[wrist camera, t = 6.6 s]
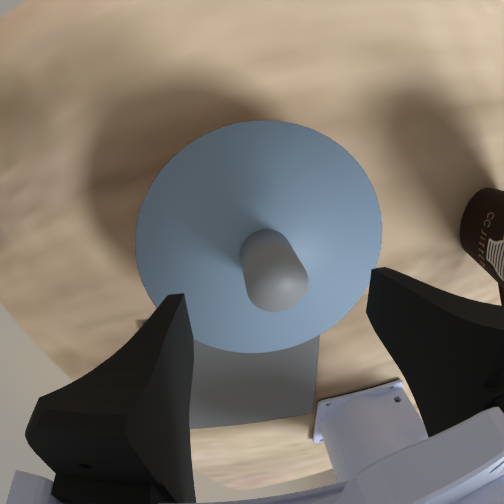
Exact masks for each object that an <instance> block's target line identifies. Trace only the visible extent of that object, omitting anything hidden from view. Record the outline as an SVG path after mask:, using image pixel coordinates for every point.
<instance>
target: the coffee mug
mask: <svg viewBox="0 0 504 504" xmlns="http://www.w3.org/2000/svg"><path fill="white" fill-rule="evenodd" d="M460 239H461V244H462V246H463V248H464V250H465V251H466V252H467V253H468V254H469V255H470V256H471V257H472V258H473V259H474V260H475V261H476V262H477V263H479V264H480V265H481V266H482V267H483V268H484V269H485V270H486V271H487V272H488V273H489V274H490V275H491V276H492V277H493V278H494V279H495V280H496V281H497V282H498V285H499V292H500V298H501V304H502V306H504V191H501V190H497V189H492V188H484V189H482V190H480V191H479V192H477V193H476V194H475V195H474V196H473V197H472V199H471V200H470V201H469V203H468V205H467V207H466V209H465V211H464V214H463V217H462V221H461V227H460Z"/></svg>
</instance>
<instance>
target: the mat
mask: <svg viewBox="0 0 504 504" xmlns="http://www.w3.org/2000/svg"><path fill="white" fill-rule="evenodd" d="M144 324H145V323H143V325H144ZM318 349H319V335H318V336H316V337H314V338H312V339H311V340H308V341H306V342H304V343H301V344H299V345H296V346H293V347H290V348H286V349H282V350H277V351H272V352H263V353H240V352H232V351H226V350H222V349H218V348H214V347H211V346H209V345H206V344H203V343H201V342H199V341H197V340H195V339H194V366H193V377H192V387H191V397H190V409H189V426H190V429H195V428H209V427H221V426H231V425H240V424H248V423H256V422H263V421H270V420H276V419H282V418H288V417H294V416H299V415H304V414H309V413H313V404H314V394H315V384H316V373H317V362H318Z"/></svg>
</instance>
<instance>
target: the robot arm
mask: <svg viewBox="0 0 504 504" xmlns="http://www.w3.org/2000/svg"><path fill="white" fill-rule="evenodd" d="M366 313H367V315H368V318H369V320H370V322H371V324H372V326H373V328H374V330H375V332H376V334H377V335H378V337H379V338H380V340H381V341H382V343H383V344H384V346H385V348H386V349H387V351H388V352H389V354H390V355H391V357H392V358H393V360H394V361H395V363H396V364H397V366H398V367H399V369H400V370H401V372H402V374H403V376H404V377H405V379H406V381H407V383H408V386H409V388H410V390H411V392H412V394H413V396H414V399H415V401H416V404H417V406H418V409H419V411H420V414H421V417H422V420H423V421H422V420H421V418H420V416H419V415H418V413H417V411H416V410H415V408H414V406H413V405H412V403H411V401H410V400H409V398H408V397H407V395H406V393H405V392H404V390H403V388H402V386H403V381H402V380H397V381H394V382H391V383H387V384H384V385H381V386H377V387H374V388H370V389H366V390H362V391H359V392H355V393H351V394H347V395H342V396H338V397H334V398H329V399H325V400H321V401H319V402H318V404H317V412H316V419H315V427H314V434H313V442H314V443H320V442H324V443H325V446H326V449H327V452H328V455H329V458H330V461H331V464H332V467H333V470H334V473H335V476H336V479H337V482H338V483H336V484H332V485H328V486H324V487H319V488H315V489H310V490H306V491H301V492H296V493H290V494H285V495H279V496H273V497H265V498H258V499H250V500H240V501H229V502H214V503H196V497H195V490H194V481H193V472H192V460H191V446H190V426H189V409H190V397H191V387H192V377H193V366H194V337H193V333H192V328H191V324H190V319H189V314H188V310H187V305H186V300H185V295H184V293H180V294H170V295H167V296H166V298H165V299H164V300H163V301H162V303H161V304H160V305H159V306H158V308H157V309H156V310H155V312H154V313H153V314H152V315H151V317H150V318H149V319H148V320H147V321H146V323H145V324H144V325H143V326H142V327H141V328H140V329H139V330H138V331H137V333H136V334H135V335H134V336H133V337H132V338H131V339H130V340H129V341H128V342H127V343H126V344H125V345H124V346H123V347H122V348H121V349H119V350H118V351H117V352H116V353H115V354H114V355H112V356H111V357H110V358H109V359H107V360H106V361H105V362H103V363H102V364H100V365H99V366H98V367H96V368H95V369H94V370H92V371H91V372H89V373H87V374H86V375H84V376H83V377H81V378H79V379H78V380H76V381H74V382H72V383H70V384H68V385H67V386H65V387H63V388H60V389H58V390H56V391H54V392H52V393H49V394H47V395H45V396H42V397H40V398H39V399H38V401H37V404H36V406H35V409H34V411H33V413H32V416H31V418H30V421H29V423H28V426H27V428H26V432H25V437H26V439H27V441H28V444H29V445H30V447H31V448H32V449H33V450H34V452H35V453H36V454H37V455H38V456H39V457H40V458H41V459H42V460H43V461H44V462H45V463H46V464H47V465H48V466H49V467H50V468H51V469H52V470H53V471H54V472H55V473H56V475H55V479H54V482H53V481H51V480H49V479H47V478H44V477H42V476H38V475H34V474H30V473H26V472H23V471H19V470H17V471H16V472H15V475H14V478H13V481H12V484H11V487H10V491H9V494H8V498H7V502H6V504H504V306H499V305H493V304H488V303H483V302H478V301H474V300H470V299H467V298H464V297H460V296H457V295H454V294H451V293H448V292H446V291H443V290H440V289H438V288H435V287H433V286H430V285H428V284H426V283H423V282H421V281H419V280H417V279H414V278H412V277H410V276H407V275H405V274H403V273H400V272H398V271H395V270H392V269H389V268H386V267H382V268H376V269H371V278H370V286H369V294H368V302H367V309H366Z"/></svg>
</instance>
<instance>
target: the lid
mask: <svg viewBox="0 0 504 504" xmlns="http://www.w3.org/2000/svg"><path fill="white" fill-rule="evenodd" d="M381 243H382V220H381V211H380V207H379V203H378V199H377V196H376V193H375V191H374V188H373V186H372V184H371V182H370V180H369V178H368V177H367V175H366V173H365V171H364V170H363V169H362V167H361V166H360V165H359V163H358V162H357V161H356V160H355V158H354V157H353V156H352V155H350V154H349V153H348V152H347V151H346V150H345V149H344V148H343V147H342V146H340V145H339V144H338V143H336V142H335V141H333V140H332V139H330V138H329V137H327V136H325V135H323V134H321V133H319V132H317V131H315V130H313V129H310V128H307V127H304V126H301V125H298V124H294V123H288V122H282V121H264V120H256V121H248V122H240V123H236V124H232V125H228V126H225V127H221V128H219V129H216V130H214V131H212V132H209V133H207V134H205V135H203V136H201V137H200V138H198V139H196V140H195V141H193V142H191V143H190V144H188V145H187V146H186V147H185V148H183V149H182V150H181V151H180V152H179V153H177V154H176V155H175V156H174V157H173V158H172V159H171V160H170V161H169V162H168V163H167V164H166V166H165V167H164V168H163V169H162V170H161V171H160V172H159V174H158V175H157V177H156V178H155V180H154V181H153V183H152V185H151V186H150V188H149V190H148V192H147V194H146V196H145V199H144V201H143V203H142V206H141V209H140V213H139V216H138V220H137V226H136V234H135V254H136V260H137V266H138V270H139V274H140V277H141V280H142V283H143V285H144V287H145V289H146V291H147V293H148V296H149V297H150V299H151V300H152V302H153V303H154V305H155V306H156V308H158V306H159V305H160V304H161V303H162V301H163V300H164V299H165V298H166V296H167V295H170V294H180V293H184V295H185V300H186V305H187V310H188V314H189V319H190V324H191V328H192V333H193V337H194V339H195V340H197V341H199V342H201V343H203V344H206V345H209V346H211V347H214V348H218V349H222V350H226V351H232V352H240V353H263V352H272V351H277V350H282V349H286V348H290V347H293V346H296V345H299V344H301V343H304V342H306V341H308V340H311V339H312V338H314V337H316V336H318V335H320V334H321V333H323V332H325V331H326V330H327V329H329V328H330V327H332V326H333V325H335V324H336V323H337V322H338V321H339V320H340V319H342V318H343V317H344V316H345V315H346V314H347V313H348V312H349V311H350V310H351V308H352V307H353V306H354V305H355V304H356V302H357V301H358V300H359V298H360V297H361V296H362V294H363V293H364V291H365V289H366V288H367V286H368V284H369V282H370V278H371V269H375V268H376V265H377V262H378V258H379V255H380V249H381Z"/></svg>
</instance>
